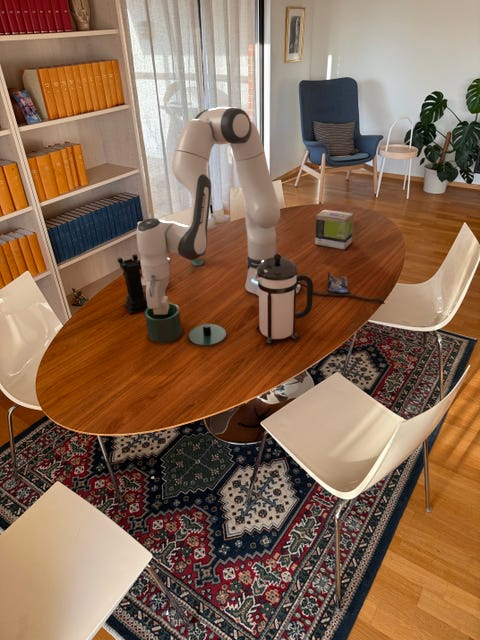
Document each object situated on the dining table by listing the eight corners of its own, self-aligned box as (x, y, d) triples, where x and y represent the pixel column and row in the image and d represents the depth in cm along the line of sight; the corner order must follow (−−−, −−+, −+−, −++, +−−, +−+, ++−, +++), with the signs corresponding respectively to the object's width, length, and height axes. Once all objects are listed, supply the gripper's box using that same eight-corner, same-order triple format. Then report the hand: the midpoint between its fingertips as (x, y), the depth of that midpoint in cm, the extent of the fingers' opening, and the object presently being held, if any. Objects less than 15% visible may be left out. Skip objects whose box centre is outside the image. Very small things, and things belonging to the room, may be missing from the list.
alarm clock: (152, 271, 199) (173, 276, 189) (154, 282, 201) (175, 287, 191) (130, 281, 192) (150, 286, 182) (133, 292, 194) (153, 297, 184)
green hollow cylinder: (184, 325, 168) (181, 302, 163) (179, 343, 158) (176, 320, 153) (152, 325, 169) (148, 302, 163) (145, 344, 159) (141, 320, 154)
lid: (227, 326, 166) (226, 315, 163) (224, 347, 155) (224, 336, 153) (191, 327, 167) (190, 315, 164) (186, 348, 156) (185, 336, 153)
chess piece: (131, 314, 176) (121, 266, 165) (125, 305, 182) (115, 258, 171) (151, 308, 179) (143, 261, 168) (144, 299, 185) (137, 253, 174)
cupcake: (185, 266, 209) (182, 241, 203) (194, 258, 216) (191, 234, 209) (202, 268, 206) (200, 243, 200) (210, 260, 213) (208, 236, 207)
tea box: (351, 242, 224) (354, 212, 216) (344, 250, 217) (346, 219, 209) (322, 237, 231) (324, 208, 223) (314, 244, 224) (315, 214, 216)
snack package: (357, 286, 187) (331, 278, 193) (358, 273, 183) (331, 265, 189) (344, 303, 181) (317, 294, 186) (345, 290, 176) (317, 281, 182)
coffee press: (289, 352, 151) (291, 269, 135) (247, 339, 159) (244, 258, 143) (311, 326, 164) (316, 247, 148) (271, 315, 171) (271, 238, 155)
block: (169, 307, 160) (167, 296, 158) (167, 314, 156) (165, 302, 154) (156, 307, 160) (154, 296, 158) (153, 314, 156) (152, 302, 154)
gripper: (159, 284, 141) (165, 323, 148) (170, 256, 158) (175, 292, 166) (138, 285, 141) (145, 323, 149) (152, 256, 159) (157, 292, 166)
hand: (161, 306), depth 157 cm, fingers closed on block, 4 cm apart
